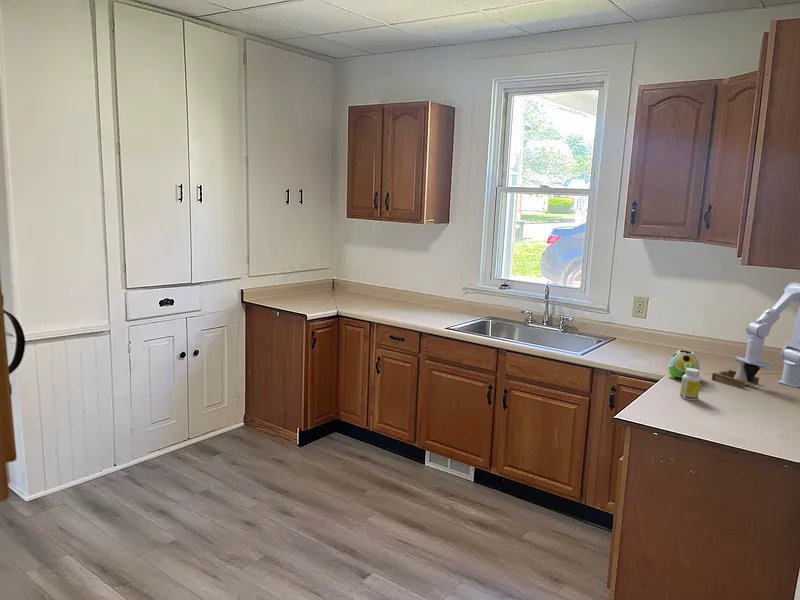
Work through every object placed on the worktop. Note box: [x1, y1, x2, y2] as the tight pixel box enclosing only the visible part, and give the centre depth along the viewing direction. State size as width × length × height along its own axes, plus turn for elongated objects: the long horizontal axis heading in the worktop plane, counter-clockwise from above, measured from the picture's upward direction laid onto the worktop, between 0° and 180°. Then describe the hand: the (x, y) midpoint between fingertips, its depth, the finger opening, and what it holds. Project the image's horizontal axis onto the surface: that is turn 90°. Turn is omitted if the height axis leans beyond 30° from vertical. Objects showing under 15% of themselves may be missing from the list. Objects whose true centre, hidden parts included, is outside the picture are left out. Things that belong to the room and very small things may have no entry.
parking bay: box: [711, 368, 760, 390], centre depth 255 cm, size 13×13×3 cm
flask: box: [734, 360, 752, 386], centre depth 252 cm, size 7×7×10 cm
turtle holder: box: [667, 349, 701, 380], centre depth 255 cm, size 12×18×12 cm
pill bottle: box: [679, 368, 701, 401], centre depth 231 cm, size 6×6×12 cm
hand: (749, 381), depth 250 cm, fingers closed, pressing on flask
